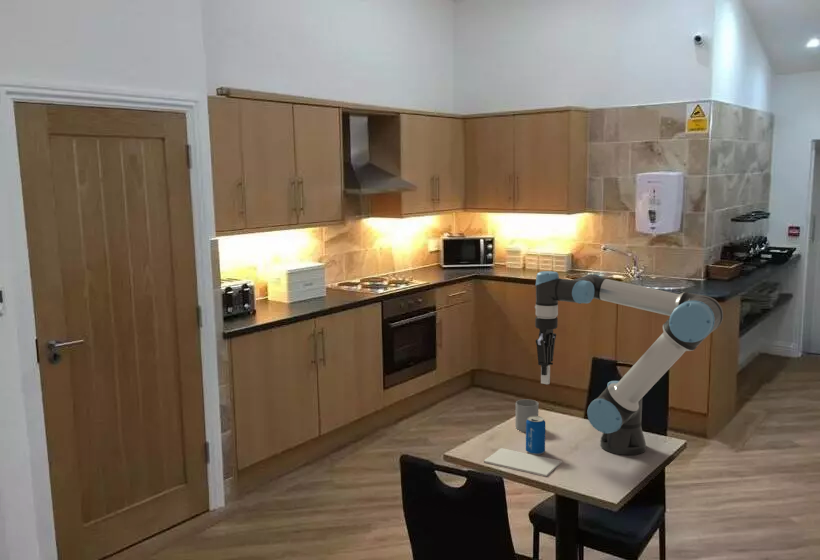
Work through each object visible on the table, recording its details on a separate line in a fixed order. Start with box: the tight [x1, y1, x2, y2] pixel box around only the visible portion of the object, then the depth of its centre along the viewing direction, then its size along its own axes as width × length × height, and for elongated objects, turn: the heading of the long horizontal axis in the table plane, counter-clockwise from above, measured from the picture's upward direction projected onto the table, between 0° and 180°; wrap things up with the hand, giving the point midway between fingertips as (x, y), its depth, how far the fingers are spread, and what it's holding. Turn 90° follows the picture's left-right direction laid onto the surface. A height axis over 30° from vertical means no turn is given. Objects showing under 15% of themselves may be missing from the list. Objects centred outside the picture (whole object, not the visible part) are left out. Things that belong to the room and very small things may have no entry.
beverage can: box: [525, 415, 546, 456], centre depth 244 cm, size 6×6×12 cm
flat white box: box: [483, 447, 563, 477], centre depth 236 cm, size 22×13×1 cm, turn 57°
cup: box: [514, 398, 540, 433], centre depth 267 cm, size 8×8×10 cm
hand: (545, 383), depth 248 cm, fingers closed
